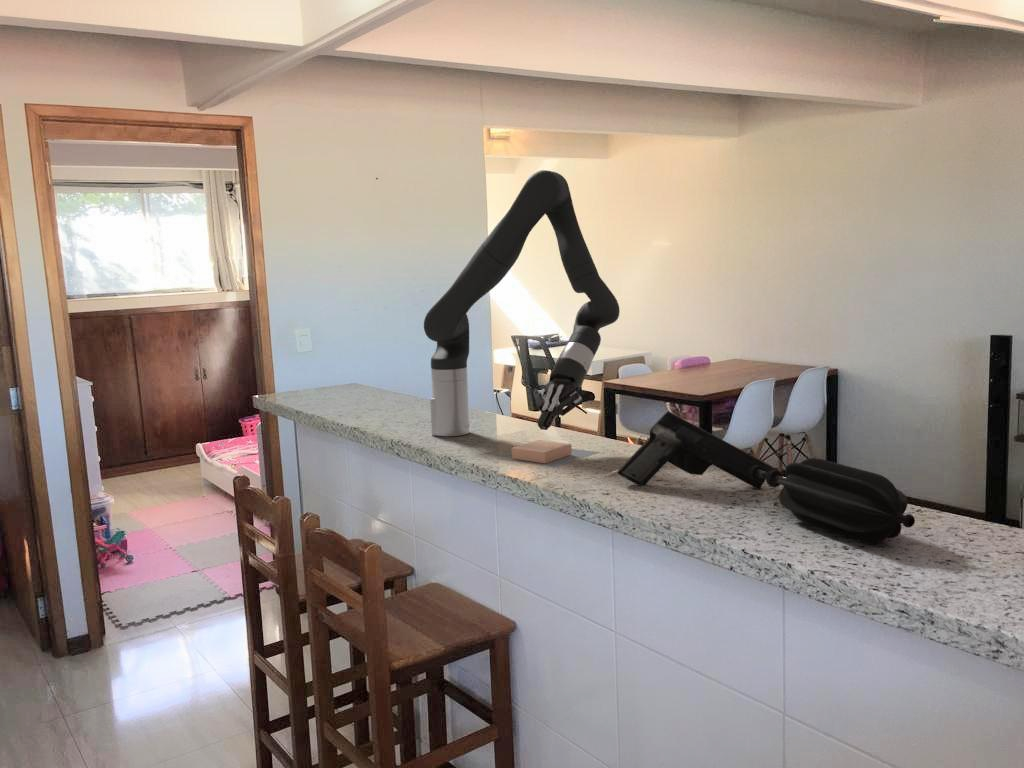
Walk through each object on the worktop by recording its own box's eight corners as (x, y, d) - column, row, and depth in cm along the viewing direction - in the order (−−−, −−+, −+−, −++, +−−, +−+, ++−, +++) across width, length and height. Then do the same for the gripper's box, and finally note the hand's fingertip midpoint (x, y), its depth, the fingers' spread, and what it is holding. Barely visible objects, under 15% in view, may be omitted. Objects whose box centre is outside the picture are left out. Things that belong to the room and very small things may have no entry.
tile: (539, 450, 192) (512, 459, 184) (538, 439, 192) (511, 447, 184) (571, 455, 187) (545, 464, 179) (571, 443, 186) (544, 452, 179)
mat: (496, 459, 186) (496, 458, 186) (541, 446, 199) (541, 444, 199) (555, 468, 176) (555, 467, 176) (599, 453, 189) (598, 452, 189)
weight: (936, 550, 119) (939, 482, 118) (883, 562, 115) (885, 491, 114) (776, 495, 150) (776, 441, 149) (730, 503, 147) (730, 447, 145)
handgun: (731, 536, 157) (772, 468, 154) (617, 473, 160) (655, 405, 156) (730, 532, 159) (771, 465, 156) (618, 470, 162) (655, 403, 159)
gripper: (541, 355, 194) (510, 415, 187) (589, 357, 186) (559, 420, 178) (555, 375, 199) (525, 434, 191) (603, 378, 191) (573, 440, 183)
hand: (542, 427), depth 185 cm, fingers closed
